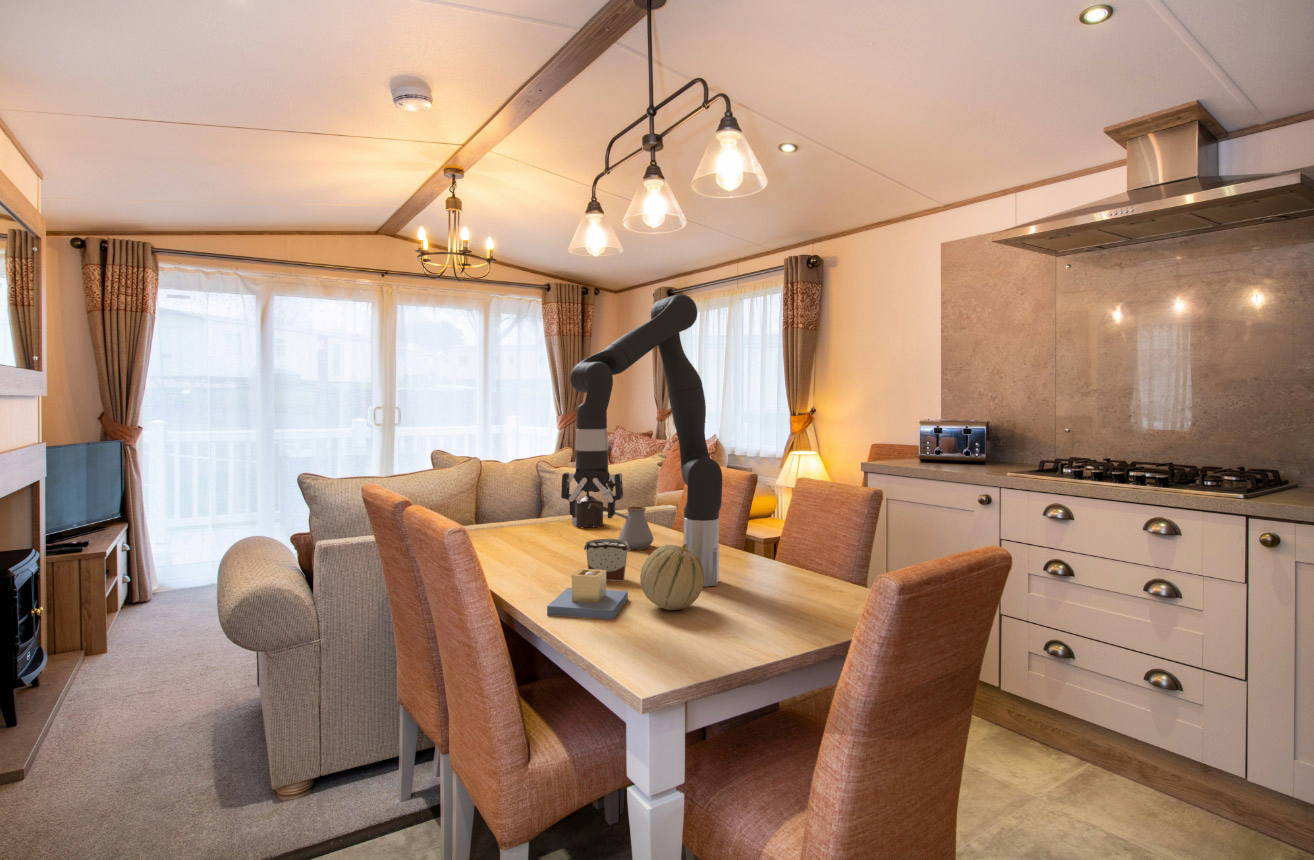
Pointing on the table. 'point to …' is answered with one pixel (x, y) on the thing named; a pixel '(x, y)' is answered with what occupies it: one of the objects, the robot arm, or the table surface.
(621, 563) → the food container
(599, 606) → the post stand
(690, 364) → the robot arm
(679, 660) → the table surface
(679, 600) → the cantaloupe
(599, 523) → the manual coffee grinder
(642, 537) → the coffee pot
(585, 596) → the brass collar
